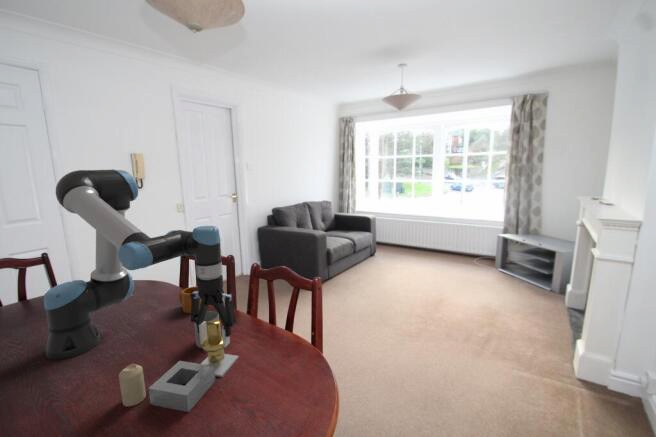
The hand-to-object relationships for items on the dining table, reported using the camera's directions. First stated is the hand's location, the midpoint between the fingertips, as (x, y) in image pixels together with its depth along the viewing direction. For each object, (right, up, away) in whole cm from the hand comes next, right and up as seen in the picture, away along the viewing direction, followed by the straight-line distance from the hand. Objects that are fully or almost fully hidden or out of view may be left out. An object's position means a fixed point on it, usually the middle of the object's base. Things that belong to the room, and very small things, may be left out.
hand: (215, 343), depth 97 cm
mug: (-27, -1, +42) cm, 50 cm away
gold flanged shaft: (0, -6, +1) cm, 6 cm away
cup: (-8, -6, +15) cm, 18 cm away
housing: (-5, -10, -11) cm, 15 cm away
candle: (-18, -10, -13) cm, 24 cm away
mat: (0, -8, +1) cm, 8 cm away
